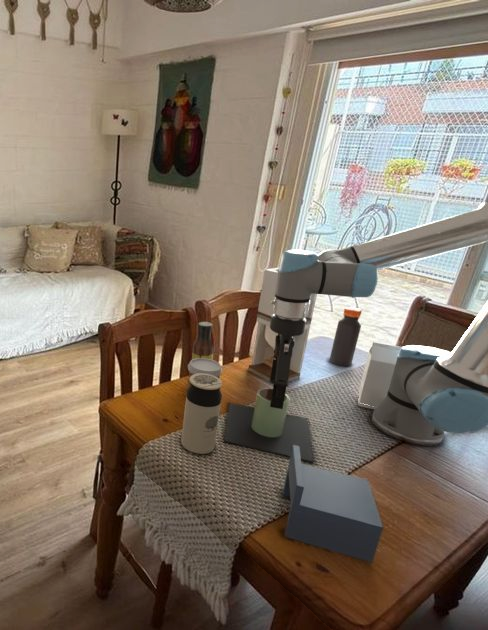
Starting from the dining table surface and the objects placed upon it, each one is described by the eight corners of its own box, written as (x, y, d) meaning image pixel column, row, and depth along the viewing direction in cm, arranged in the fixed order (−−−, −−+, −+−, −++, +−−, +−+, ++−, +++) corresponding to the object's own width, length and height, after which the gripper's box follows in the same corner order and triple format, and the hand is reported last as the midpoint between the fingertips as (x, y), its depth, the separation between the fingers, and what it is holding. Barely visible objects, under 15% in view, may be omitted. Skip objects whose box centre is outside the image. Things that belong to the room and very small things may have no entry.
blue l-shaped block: (358, 511, 89) (373, 462, 85) (372, 562, 77) (389, 509, 73) (282, 491, 94) (292, 444, 90) (284, 537, 82) (296, 485, 78)
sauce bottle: (212, 380, 141) (220, 323, 134) (207, 388, 136) (215, 329, 129) (192, 375, 144) (199, 318, 138) (186, 383, 139) (193, 324, 133)
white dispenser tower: (248, 370, 149) (264, 269, 137) (270, 364, 153) (288, 266, 141) (275, 384, 139) (296, 277, 127) (299, 378, 143) (321, 274, 131)
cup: (282, 424, 117) (288, 391, 114) (283, 440, 110) (290, 405, 107) (251, 418, 120) (257, 385, 116) (250, 433, 113) (256, 398, 110)
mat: (306, 419, 120) (306, 418, 120) (313, 463, 103) (313, 461, 103) (229, 403, 128) (229, 402, 127) (224, 441, 110) (224, 440, 110)
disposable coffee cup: (213, 394, 133) (218, 358, 129) (220, 410, 124) (226, 372, 120) (181, 392, 134) (185, 356, 130) (186, 408, 125) (191, 371, 121)
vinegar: (349, 360, 157) (363, 307, 150) (352, 368, 151) (366, 313, 144) (328, 357, 159) (340, 304, 153) (330, 364, 153) (342, 310, 147)
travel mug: (175, 437, 112) (182, 374, 106) (203, 433, 113) (212, 371, 107) (190, 457, 104) (199, 390, 98) (220, 452, 106) (230, 386, 100)
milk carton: (387, 413, 124) (405, 351, 118) (358, 406, 127) (374, 346, 121) (385, 402, 130) (402, 343, 123) (357, 395, 133) (372, 337, 127)
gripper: (271, 299, 117) (260, 371, 124) (272, 331, 95) (259, 415, 102) (302, 302, 114) (289, 376, 121) (311, 335, 92) (294, 422, 99)
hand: (275, 394), depth 112 cm, fingers open, 13 cm apart
